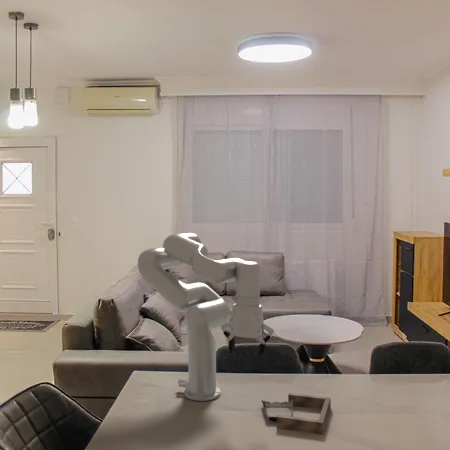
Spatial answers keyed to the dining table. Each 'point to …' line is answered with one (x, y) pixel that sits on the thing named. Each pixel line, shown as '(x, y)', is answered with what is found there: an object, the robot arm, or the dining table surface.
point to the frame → (304, 423)
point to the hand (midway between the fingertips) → (246, 353)
